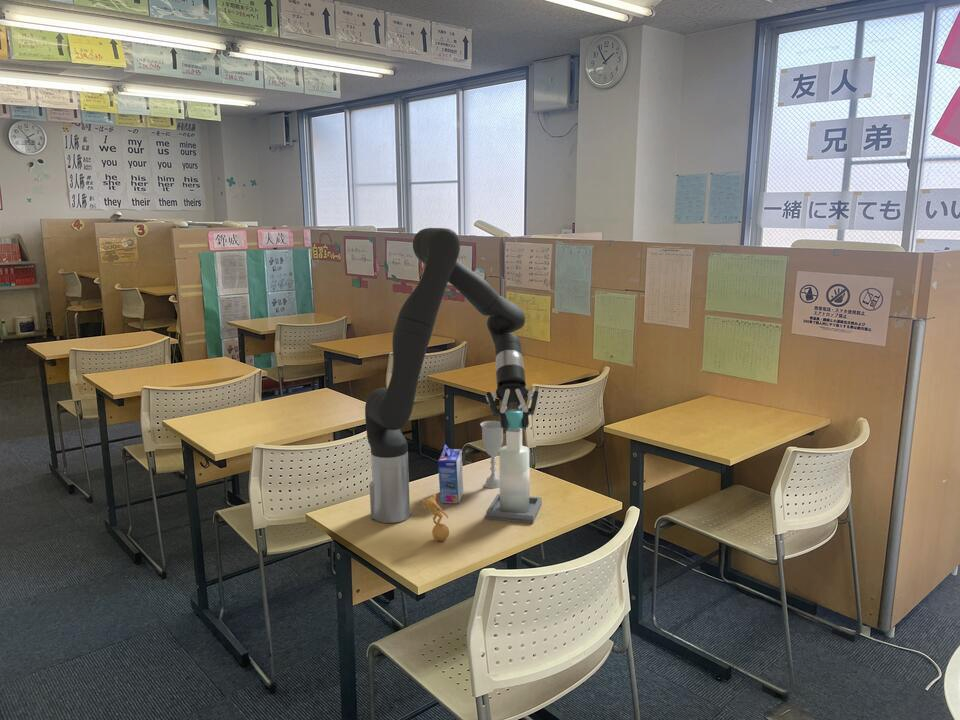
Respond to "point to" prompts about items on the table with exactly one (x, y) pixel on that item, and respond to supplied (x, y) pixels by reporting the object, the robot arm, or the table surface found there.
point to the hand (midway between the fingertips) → (515, 428)
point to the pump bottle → (514, 484)
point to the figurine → (439, 530)
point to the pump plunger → (514, 419)
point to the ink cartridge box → (450, 475)
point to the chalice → (492, 447)
